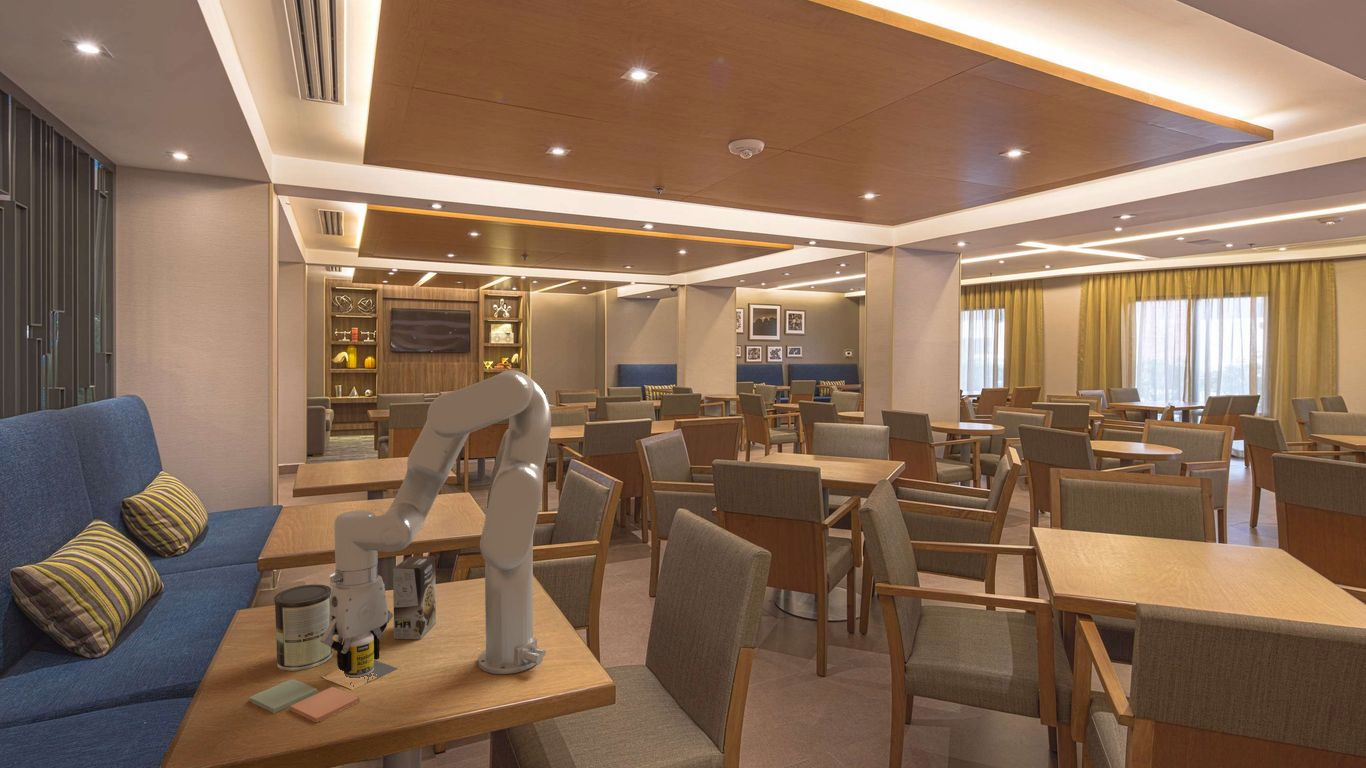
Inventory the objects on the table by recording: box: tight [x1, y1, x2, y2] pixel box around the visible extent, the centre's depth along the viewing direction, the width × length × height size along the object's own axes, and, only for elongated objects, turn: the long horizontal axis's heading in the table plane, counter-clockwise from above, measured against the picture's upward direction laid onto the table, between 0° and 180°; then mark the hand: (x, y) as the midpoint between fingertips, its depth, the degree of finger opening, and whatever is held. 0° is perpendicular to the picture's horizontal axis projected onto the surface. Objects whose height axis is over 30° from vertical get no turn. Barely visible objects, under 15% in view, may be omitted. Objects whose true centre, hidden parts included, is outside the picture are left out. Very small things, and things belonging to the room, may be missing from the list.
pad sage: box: [248, 678, 318, 714], centre depth 127 cm, size 8×8×1 cm
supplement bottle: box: [344, 632, 375, 678], centre depth 136 cm, size 5×5×10 cm
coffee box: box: [392, 555, 437, 640], centre depth 155 cm, size 9×6×16 cm
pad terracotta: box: [289, 686, 360, 723], centre depth 123 cm, size 8×8×1 cm
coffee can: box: [273, 584, 334, 672], centre depth 141 cm, size 10×10×14 cm
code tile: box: [350, 659, 399, 687], centre depth 136 cm, size 10×10×1 cm
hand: (359, 663), depth 136 cm, fingers closed on supplement bottle, 5 cm apart
